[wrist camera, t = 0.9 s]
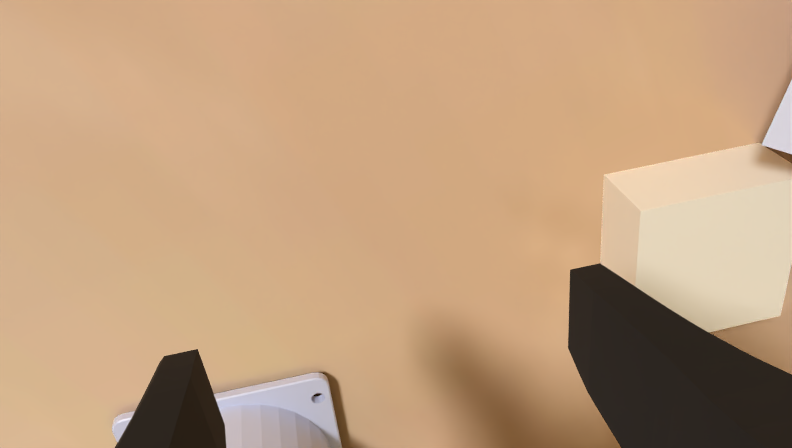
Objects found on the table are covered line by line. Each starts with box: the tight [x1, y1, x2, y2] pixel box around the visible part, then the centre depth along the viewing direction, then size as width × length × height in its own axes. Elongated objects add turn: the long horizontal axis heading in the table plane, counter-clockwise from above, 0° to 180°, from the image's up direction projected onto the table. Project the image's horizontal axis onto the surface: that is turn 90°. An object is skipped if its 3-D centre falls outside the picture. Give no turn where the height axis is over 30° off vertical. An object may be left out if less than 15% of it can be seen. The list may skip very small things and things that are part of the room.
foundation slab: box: [600, 143, 792, 332], centre depth 26 cm, size 6×6×3 cm
